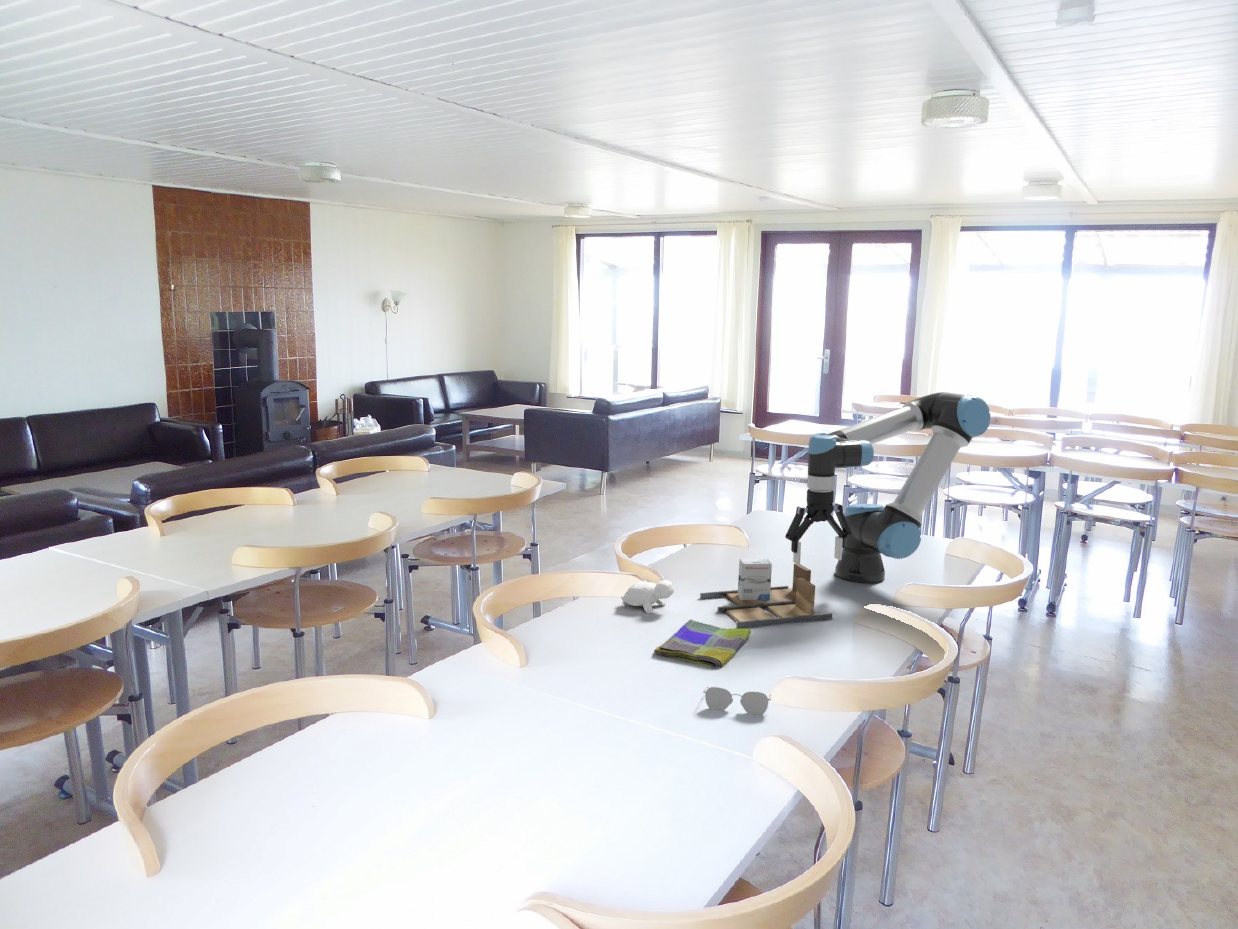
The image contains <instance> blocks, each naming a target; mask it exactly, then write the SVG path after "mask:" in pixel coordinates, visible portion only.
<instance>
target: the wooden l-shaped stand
mask: <svg viewBox="0 0 1238 929" xmlns="http://www.w3.org/2000/svg"><path fill="white" fill-rule="evenodd" d="M815 598H816V585H815V584H814V583H812V582H811V581H810V582H808V581H807V580H805V579H803V578H797V590H796V604H790V605H779V606H768V607H767V610H768V611H769V612H770V613H772V614H773V615H775V616H776V617H777V618H782V617H793V616H803V615H813V614H815V600H816V599H815ZM770 613H768V612H767V611H765V609H761V608H760V607H757V608H746V609H736V610H726V612H725V614H726V615H728V616H729V617H730V618H732V619H734V620H735V622H736V623H737V622H741V621H752V620H762V619H772V618H775V617H774V616H773V615H771V614H770Z"/></svg>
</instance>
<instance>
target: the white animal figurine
mask: <svg viewBox="0 0 1238 929" xmlns="http://www.w3.org/2000/svg"><path fill="white" fill-rule="evenodd" d="M674 591H675V587H674V585H673V583H672V581H670V580H667V579H663V580H660V581H658V582H657V583H655V582H648V581H643V580H642V581H641V580H640V581H637V582H634V583H633V584H632V585H631V586H630V587H628V589H627V591H626V592H625V593H624V595H622V596H621V600H622V602H621V603H622V605H623V607H626V606H627V604H628V605H629V606H630V605H631V606H634V607H643V609H644V611H645V612H646V614H648V615H650V614H652V613H653V611H654V609H653V606H652V605H654V604H655V603H657V605H659V606H661V607H664V606H665V605H666V602H665V601H664V599H668V598H670V597H671V596H672V595H673V594H674Z"/></svg>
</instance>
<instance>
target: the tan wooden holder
mask: <svg viewBox="0 0 1238 929" xmlns="http://www.w3.org/2000/svg"><path fill="white" fill-rule="evenodd" d="M792 573H793V575H792V587H790V588H788V589H778V590H770V600H740V598H739V596H738V593H731V594H727V597H726V598H728V599H730V601H732V602H733V603H734V604H735V605H743V604H754V603H766V602H777V601H788V600H796V590H797V578H803V579H805V580H807V581H808V582H810V583H811V582H812V581H811V580H812V579H811V578H812V577H811V576H812V569H810V568H808V567H806V566H804V565H803V564H801V563H800V564H796V563H793V572H792Z"/></svg>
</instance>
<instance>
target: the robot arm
mask: <svg viewBox="0 0 1238 929" xmlns="http://www.w3.org/2000/svg"><path fill="white" fill-rule="evenodd" d="M989 407H990V406H989V405H988V403H987V402H986V401H985V400H984V399H982V398H981V397H978V396H974V395H972V394H961V393H953V392H947V391H946V392H945V391H941V392H935V393H931V394H928V395H924V396H921V397H918V398H915V399H913V400H910V401H907V402H905V403H904V404H903V406H902V407H900V408H897V409H895V410H891V411H888V412H886V413H883V414H881V415H877V416H875V417H873V418H868V419H867V420H864V421H861V422H858V423H855V424H852V425H849V426H847V427H845V428H841V429H839V430H835V431H833V432H830V433H825V432H822V433H821V432H819V433H818V432H817V433H816V434H814V435H812V436H810V438H809V442H808V447H807V448H808V449H807V454H808V455H807V456H808V458H807V461H808V462H807V481H806V482H807V484H806V487H807V488H808V489H807V490H806V507H801V506H799V505H798V506H796V512H795V515H794V517H793V519H792V521H791V523H790V525H789V528H788V530H787V532H786V534H785V535H784V536H785V539H786V540H789V541H791V543H790V544H791V545H790V550H791V552H792V554H793V556H792V558H793V559H792V562H793V564H801V553H802V552H801V550H802V542H801V541H800V540H801V539H802V537H803V535H804V534H805V533H806V532H807V530H808V529H809V528H810V527H811V525H813V524H814V523H820V522H828V524H829V525H830V527H831V528H832V529H833V530H834V532H835V534H837V535H835V538H834V554H833V555H834V557H833V558H834V559H837V563H836V565H835V569H834V571H835V573H834V574H835V575H836V576H837V577H839V578H840V579H843V580H846V581H850V582H856V583H867V584H868V583H870V584H871V583H880V582H882V581H884V580H885V578H886V570H885V566H884V562H883V559H882V555H883V556H884V557H888V558H892V559H894V560H895V559H897V560H901V559H902V560H903V559H905V558H908V557H911V556H912V555H913V554H914V553H915V552H916V551H917V549H918V548H919V547H920V544H921V541H922V538H921V535H922V532H921V530H920V528H921V526H922V524H923V522H922V519H921V516H922V514H923V513H924V511H925V509H926V507H927V505H928V504H929V502H930V500H931V499H932V497H933V495H934V493H935V492H936V490H937V489H938V487H939V485H940V483H941V481H942V480H943V479H944V476H945V474H946V473H947V471H948V470H949V468H950V466H951V465H952V463H953V461H954V460H955V457H956V456H957V454H958V452H959V451H960V449H961V448H963V447H968V446H969V444H970V442H971V441H972V439H973V438H975V437H979V436H982V435H983V434H985V432H986V431H987V430H988V429H989V426H990V423H991V412H990V408H989ZM928 429H929V430H930V429H931V431H932V433H933V434H932V436H931V438H930V440H929V441H928V443H927V444H926V447H925V448H924V449H923V451H922V453H921V455H920V456H919V458H918V460H917V462H916V463H915V465H914V467H913V468H912V470H911V472H910V474H909V476H908V477H907V479H906V480H905V481H904V484H903V486H902V487H901V489H900V490H899V492H898V494H897V495H896V497H895V499H894V501H892V502H891V503H887V504H885V505H881V504H878V503H877V504H876V503H875V504H874V503H854V504H849V505H847V506H846V508H845V511H844V507H843V504H839V503H834V500H835V499H834V498H835V497H834V496H835V495H834V494H835V491H834V489H835V476H836V475H835V474H836V469H843V468H860V467H865V466H869V465H870V464H872V462H873V460H874V459H875V458H874V457H875V456H874V455H875V454H874V453H875V451H874V447H873V445H874V444H876V443H879V442H882V441H885V440H888V439H891V438H893V437H896V436H898V435H901V434H903V433H907V432H910V431H912V432H919V431H922V430H928ZM833 503H834V504H833ZM833 512H834V513H835V516H836V518H837V521H838V522H839V524H838V523H837V521H836V520H835V518H834V517H833V515H832V513H833Z"/></svg>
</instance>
